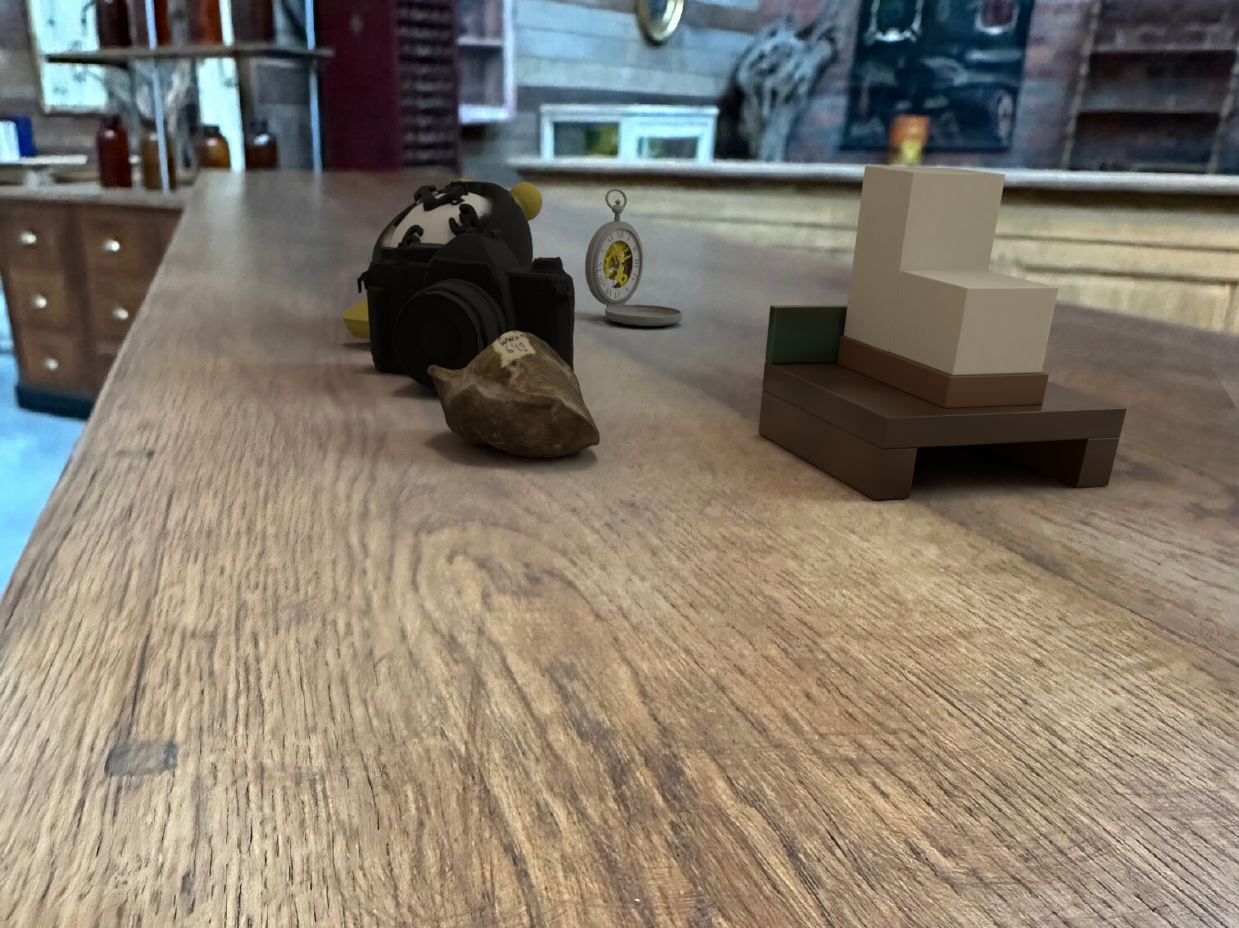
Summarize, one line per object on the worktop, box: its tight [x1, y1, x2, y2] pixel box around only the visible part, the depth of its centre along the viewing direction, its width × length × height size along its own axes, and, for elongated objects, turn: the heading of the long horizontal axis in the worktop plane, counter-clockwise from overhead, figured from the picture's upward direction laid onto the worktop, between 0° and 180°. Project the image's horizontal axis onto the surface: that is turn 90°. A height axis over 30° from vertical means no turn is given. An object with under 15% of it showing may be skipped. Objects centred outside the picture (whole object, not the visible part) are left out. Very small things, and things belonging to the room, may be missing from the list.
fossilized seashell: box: [427, 331, 601, 458], centre depth 65 cm, size 8×7×10 cm
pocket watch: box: [584, 187, 684, 327], centre depth 102 cm, size 8×8×10 cm
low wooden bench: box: [757, 303, 1128, 501], centre depth 66 cm, size 14×14×7 cm
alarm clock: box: [341, 177, 543, 341], centre depth 93 cm, size 12×15×15 cm
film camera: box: [356, 227, 576, 392], centre depth 78 cm, size 15×10×9 cm, turn 73°
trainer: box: [837, 165, 1060, 408], centre depth 63 cm, size 12×6×10 cm, turn 19°
